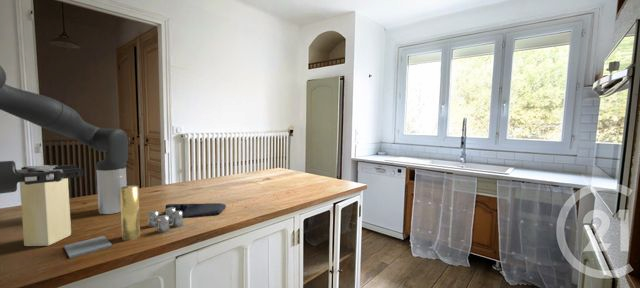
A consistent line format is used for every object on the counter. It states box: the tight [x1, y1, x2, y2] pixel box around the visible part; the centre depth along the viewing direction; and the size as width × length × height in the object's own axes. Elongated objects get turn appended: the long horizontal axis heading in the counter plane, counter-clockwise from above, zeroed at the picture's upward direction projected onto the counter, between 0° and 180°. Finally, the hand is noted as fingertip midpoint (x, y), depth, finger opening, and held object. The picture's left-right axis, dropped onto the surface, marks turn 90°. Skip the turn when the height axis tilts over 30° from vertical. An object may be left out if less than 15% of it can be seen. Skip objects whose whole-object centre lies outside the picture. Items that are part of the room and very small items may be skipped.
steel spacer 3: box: [166, 207, 176, 225], centre depth 95 cm, size 3×3×5 cm
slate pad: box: [63, 235, 113, 259], centre depth 76 cm, size 9×9×1 cm
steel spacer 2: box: [157, 214, 170, 234], centre depth 87 cm, size 3×3×5 cm
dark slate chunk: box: [164, 202, 227, 219], centre depth 107 cm, size 15×22×5 cm
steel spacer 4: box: [172, 210, 184, 228], centre depth 92 cm, size 3×3×5 cm
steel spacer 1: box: [147, 210, 160, 228], centre depth 92 cm, size 3×3×5 cm
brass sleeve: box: [120, 185, 141, 241], centre depth 82 cm, size 5×5×16 cm
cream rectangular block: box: [19, 175, 72, 247], centre depth 79 cm, size 8×7×21 cm
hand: (79, 170), depth 72 cm, fingers open, 8 cm apart
